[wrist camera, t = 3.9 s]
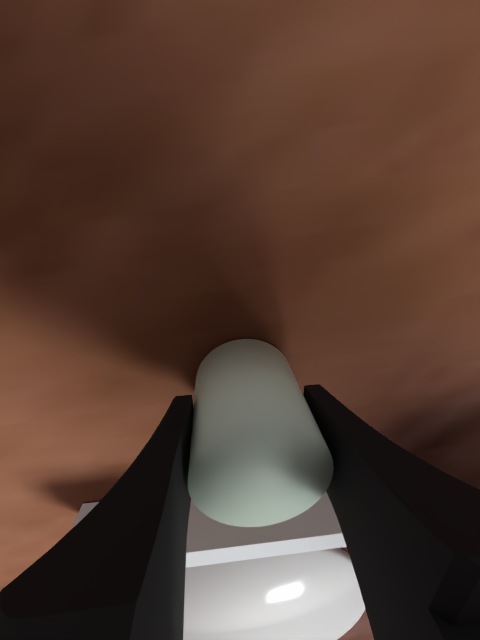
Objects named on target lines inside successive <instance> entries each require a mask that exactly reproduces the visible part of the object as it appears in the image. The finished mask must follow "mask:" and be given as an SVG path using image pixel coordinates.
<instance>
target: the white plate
mask: <svg viewBox="0 0 480 640" xmlns="http://www.w3.org/2000/svg"><path fill="white" fill-rule="evenodd" d="M364 610H365V605H364V602H363V598H362V595H361V591H360V588H359V585H358V581H357V578H356V575H355V572H354V569H353V565H352V562H351V559H350V556H349V553H348V552H346V551H344V550H343V549H341V548H334V549H326V550H318V551H311V552H303V553H295V554H288V555H280V556H272V557H264V558H257V559H249V560H241V561H234V562H226V563H218V564H211V565H203V566H195V567H188V568H186V569H185V596H184V627H183V640H337V639H338V638H340V637H341V636H342V635H344V634H345V633H346V632H347V631H348V630H349V629H350V628H352V627H353V625H354V624H355V623H356V622H357V621H358V620H359V618H360V617H361V615H362V614H363V612H364Z"/></svg>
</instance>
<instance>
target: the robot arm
mask: <svg viewBox="0 0 480 640" xmlns="http://www.w3.org/2000/svg"><path fill="white" fill-rule="evenodd" d="M304 398H305V400H306V402H307V404H308V406H309V408H310V410H311V412H312V415H313V417H314V419H315V421H316V423H317V425H318V427H319V430H320V432H321V434H322V436H323V438H324V440H325V442H326V445H327V447H328V449H329V451H330V453H331V456H332V459H333V465H334V469H333V476H332V480H331V482H330V485H329V487H328V488H327V490H326V492H327V494H328V497H329V499H330V501H331V504H332V506H333V509H334V511H335V514H336V516H337V519H338V522H339V525H340V528H341V531H342V534H343V537H344V540H345V543H346V546H347V549H348V552H349V556H350V559H351V562H352V565H353V569H354V572H355V575H356V578H357V581H358V585H359V588H360V591H361V595H362V598H363V602H364V605H365V608H366V612H367V615H368V619H369V622H370V625H371V629H372V633H373V636H374V640H480V490H479V489H476V488H474V487H472V486H470V485H468V484H466V483H464V482H462V481H460V480H458V479H456V478H454V477H452V476H450V475H448V474H446V473H444V472H443V471H441V470H439V469H437V468H435V467H433V466H432V465H430V464H428V463H426V462H424V461H423V460H421V459H419V458H418V457H416V456H414V455H412V454H411V453H409V452H408V451H406V450H405V449H403V448H401V447H400V446H398V445H397V444H395V443H393V442H392V441H390V440H389V439H388V438H386V437H385V436H383V435H382V434H380V433H379V432H378V431H376V430H375V429H373V428H372V427H371V426H369V425H368V424H367V423H365V422H364V421H363V420H361V419H360V418H359V417H358V416H356V415H355V414H354V413H353V412H351V411H350V410H349V409H348V408H347V407H345V406H344V405H343V404H342V403H341V402H339V401H338V400H337V399H336V398H335V397H333V396H332V395H331V394H330V393H329V392H328V391H326V390H325V389H324V388H323V387H322V386H320V385H307V386H304ZM192 421H193V401H192V395H185V396H176V397H175V398H174V399H173V401H172V403H171V405H170V407H169V409H168V410H167V412H166V414H165V416H164V417H163V419H162V421H161V422H160V424H159V426H158V427H157V429H156V430H155V432H154V433H153V435H152V437H151V438H150V440H149V441H148V443H147V444H146V445H145V447H144V448H143V450H142V451H141V452H140V454H139V455H138V456H137V458H136V459H135V461H134V462H133V463H132V464H131V466H130V467H129V468H128V470H127V471H126V472H125V473H124V474H123V476H122V477H121V478H120V479H119V480H118V482H117V483H116V484H115V485H114V486H113V487H112V488H111V489H110V491H109V492H108V493H107V494H106V495H105V496H104V497H103V498H102V499H101V500H100V502H99V503H98V504H97V505H96V506H95V507H94V508H93V509H92V510H91V511H90V512H89V513H88V514H87V515H86V516H85V517H84V518H83V519H82V520H81V521H80V522H79V523H78V524H77V525H76V526H74V527H73V528H72V529H71V530H70V531H69V532H68V533H67V534H66V535H65V536H64V537H63V538H62V539H61V540H60V541H59V542H58V543H57V544H55V545H54V546H53V547H52V548H51V549H50V550H49V551H48V552H47V553H45V554H44V555H43V556H42V557H41V558H39V559H38V560H37V561H36V562H35V563H33V564H32V565H31V566H30V567H29V568H27V569H26V570H25V571H24V572H23V573H22V574H20V575H19V576H18V577H17V578H16V579H14V580H13V581H12V582H11V583H9V584H8V585H7V586H6V587H4V588H3V589H2V590H1V592H0V640H183V627H184V596H185V569H186V546H187V531H188V520H189V513H190V505H191V497H190V495H189V491H188V472H189V459H190V446H191V433H192Z"/></svg>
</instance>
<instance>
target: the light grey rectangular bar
mask: <svg viewBox="0 0 480 640" xmlns="http://www.w3.org/2000/svg"><path fill="white" fill-rule="evenodd" d="M98 503H99V502H93V503H84V504H82V506H81V508H80V511H79V513H78V516H77V518H76V520H75V523H74V525H73V527H74V526H76V525H77V524H78V523H79V522H80V521H81V520H82V519H83V518H84V517H85V516H86V515H87V514H88V513H89V512H90V511H91V510H92V509H93V508H94V507H95V506H96V505H97V504H98ZM341 547H347V546H346V543H345V540H344V537H343V534H342V531H341V528H340V525H339V522H338V519H337V516H336V514H335V511H334V509H333V506H332V504H331V501H330V499H329V497H328V494H327V492H325V493H324V494H323V496H322V497H321V498H320V499H319V500H318V501H317V502H316V503H315V504H314V505H313V506H311V507H310V508H309V509H307V510H306V511H304V512H303V513H301V514H299V515H297V516H296V517H293V518H291V519H289V520H286V521H283V522H280V523H277V524H273V525H268V526H261V527H238V526H232V525H227V524H224V523H220V522H218V521H216V520H213V519H211V518H210V517H208V516H206V515H205V514H204V513H202V512H201V511H200V510H199V509H198V508H197V507H196V506H195V504H194V503H193V501H192V499H191V505H190V513H189V520H188V531H187V546H186V568H188V567H195V566H203V565H211V564H218V563H226V562H234V561H241V560H249V559H257V558H264V557H272V556H280V555H288V554H295V553H303V552H311V551H318V550H326V549H334V548H341Z"/></svg>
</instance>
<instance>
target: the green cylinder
mask: <svg viewBox="0 0 480 640" xmlns="http://www.w3.org/2000/svg"><path fill="white" fill-rule="evenodd" d="M333 469H334V465H333V459H332V456H331V453H330V451H329V449H328V447H327V445H326V442H325V440H324V438H323V436H322V434H321V432H320V430H319V427H318V425H317V423H316V421H315V419H314V417H313V415H312V412H311V410H310V408H309V406H308V404H307V402H306V400H305V398H304V395H303V393H302V391H301V389H300V387H299V385H298V383H297V380H296V378H295V376H294V374H293V372H292V370H291V368H290V366H289V363H288V361H287V360H286V358H285V356H284V355H283V354H282V353H281V352H280V351H279V350H278V349H277V348H275V347H274V346H272V345H270V344H269V343H266V342H263V341H260V340H255V339H238V340H233V341H229V342H227V343H224V344H222V345H220V346H218V347H217V348H215V349H214V350H212V351H211V352H210V353H209V354H208V355H207V356H206V357H205V358H204V359H203V361H202V362H201V364H200V366H199V368H198V371H197V374H196V382H195V394H194V407H193V421H192V433H191V446H190V459H189V472H188V491H189V495H190V497H191V499H192V501H193V503H194V504H195V506H196V507H197V508H198V509H199V510H200V511H201V512H202V513H204V514H205V515H206V516H208V517H210V518H211V519H213V520H216V521H218V522H220V523H224V524H227V525H232V526H238V527H261V526H268V525H273V524H277V523H280V522H283V521H286V520H289V519H291V518H293V517H296V516H297V515H299V514H301V513H303V512H304V511H306V510H307V509H309V508H310V507H311V506H313V505H314V504H315V503H316V502H317V501H318V500H319V499H320V498H321V497H322V496H323V494H324V493H325V492H326V490H327V488H328V487H329V485H330V482H331V480H332V476H333Z"/></svg>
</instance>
